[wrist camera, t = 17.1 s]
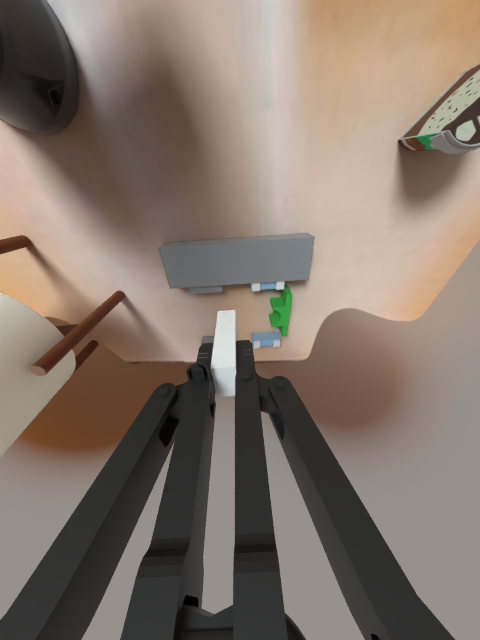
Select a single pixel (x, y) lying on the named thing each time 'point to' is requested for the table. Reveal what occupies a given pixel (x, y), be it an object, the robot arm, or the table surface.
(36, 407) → the plant pot with stand
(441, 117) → the food container
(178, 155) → the table surface
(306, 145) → the table surface
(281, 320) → the pipe clamp
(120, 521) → the robot arm
